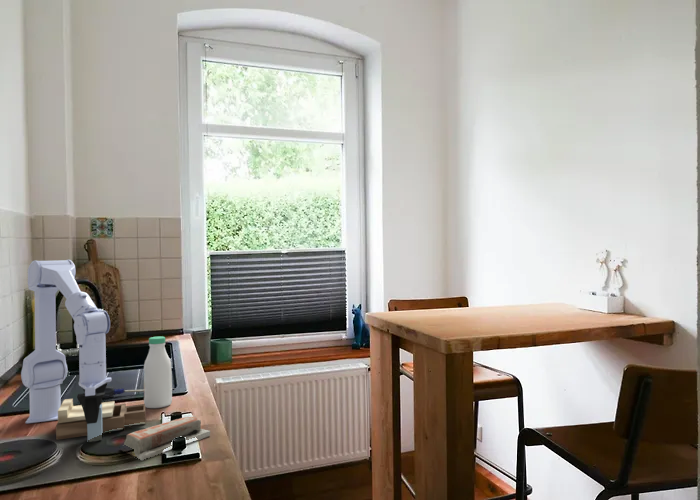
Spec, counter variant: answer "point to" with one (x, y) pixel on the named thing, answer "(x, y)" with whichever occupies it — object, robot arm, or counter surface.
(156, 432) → the packaged product
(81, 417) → the lid
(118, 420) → the wooden compartment box
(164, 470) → the counter surface
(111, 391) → the screwdriver
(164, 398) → the milk bottle
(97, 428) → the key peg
